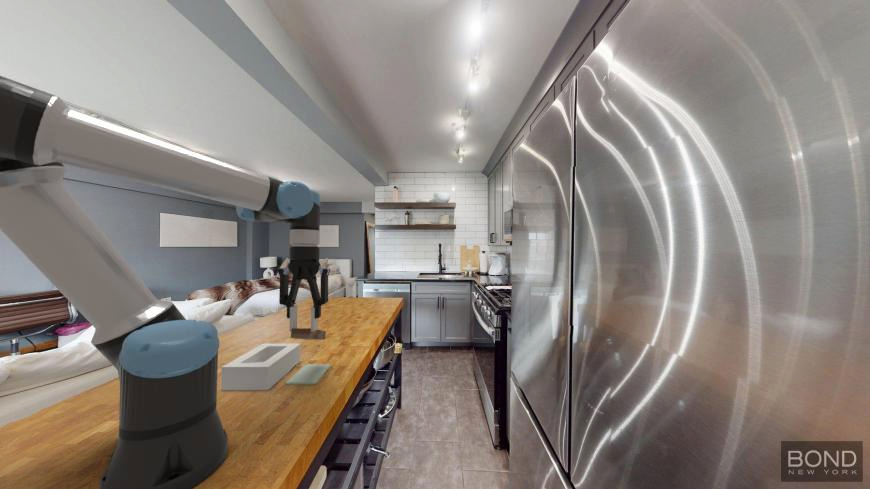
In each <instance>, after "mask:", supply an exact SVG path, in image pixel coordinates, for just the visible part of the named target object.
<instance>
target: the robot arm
mask: <svg viewBox="0 0 870 489" xmlns="http://www.w3.org/2000/svg"><path fill="white" fill-rule="evenodd" d="M65 165H68V166H71V167H77V168H79V169H84V170H88V171H92V172H96V173H97V172H98V173H102V174H105V175H108V176H114V177H116V178H117V177H118V178H122V179H125V180H129V181H134V182H137V183H141V184H146V185H150V186H155V187H158V188H161V189H166V190H171V191H175V192H179V193H182V194H183V193H184V194H187V195H189V196H190V195H191V196H195V197H200V198H204V199H207V200H212V201H216V202H220V203H224V204H227V205H228V204H229V205H233V206H235V210H236V215H237V216H238V218H239V219H241V220H243V221H244V220H245V221H252V222H265V223H283V224H289V245H291V246H290V247H289V263H288V265H287V266H286V267H285V266H284V267H281V268H278V269H277V273H278V275H279V294H278V295H279V297H278V298H279V299H278V300H279V302H278V304H279V305H281V306H282V305H283V306H285V307H286V318H287V319H289V332H291V331H292V328H298V305H296V304H297V303H296V300H297V296H298V293H299V289H300V286H301V282H302V280H305V281H306V282H307V284H308V287H309V290H310V295H311V300H312V303H313V305H312V306H311V307H310V328H311V331H315V330H316V329H317V330H319V329H318V322H319V320H318V319H319V318H321V316H322V306H323V305H325V304H327V303H328V302H329V275H330V272H331V268H330V267H327V268H326V267H324V266H322V265H321V263H320V249H321V248H320V247H319V246H318V245H320V239H321V238H320V236H321V235H320V232H321V231H320V227H321V226H320V224H321V222H320V221H321V219H320V218H321V199H320V198H321V197H320V193H319V192H318V191H316V190H313V189H310V188H309V186H307V185H306V184H305V183H303V182H301V181H297V180H296V181H295V180H292V181H291V180H288V181H282V180H279V179H277V178H273V177H271V176H270V177H269V176H267V175H264V174H260V173H258V172H256V171H252V170H249V169H246V168H243V167H240V166H237V165H234V164H232V163H230V162H229V163H228V162H227V161H226V162H225V161H224V160H220V159H217V158H215V157H211V156H208V155H205V154H203V153H201V152H200V153H199V152H197V151H194V150H191V149H188V148H186V147H183V146H179V145H176V144H174V143H171V142H168V141H166V140H162V139H159V138H156V137H153V136H150V135H147V134H144V133H142V132H139V131H136V130H132V129H130V128H126V127H124V126H121V125H118V124H116V123H113V122H109V121H107V120H104V119H101V118H98V117H95V116H92V115H90V114H86V113H83V112H80V111H78V110H76V109H75V110H74V109H73V108H71V107H69V106H68V105H67V104H66V102H64V100H63V99H62V98H61V97H60V96H57V95H55V94H52V93H49V92H46V91H44V90H41V89H38V88H35V87H32V86H31V85H27V84H24V83H21V82H19V81H15V80H13V79H9V78H7V77H5V76H3V75H2V76H1V75H0V230H1V232H2V233H3V234H4V235H5V236H6V237H7V238H8V239H9V241H11V242H12V243H13V244H14V245H15V246H16V247H17V248H18V249H19V250H20V251H21V252H22V254H23V255H24V256H25V257H26V258H27V259H28V260H29V261H30V262H31V263H32V264H33V265H34V266H35V267H36V269H38V270H39V271H40V272H41V273H42V275H43V276H45V278H46V279H48V281H49V282H50V283H51V284H52V285H53V286H54V287H55V288H56V290H58V291H59V292H60V293H61V294H62V295H63V296H64V298H66V299H67V300H68V302H69V303H70V304H71V305H72V306H73V307H74V308H75V309H76V310H77V311H78V312H79V313H80V315H82V316H83V317H84V319H86V321H88V322H89V324H91V326H92V327H93V328H94V329H95V331H94V333H93V336H92V337H91V338H92V339H91V342H90V343H91V344H92V345H93V347H94V348H95V349H97V351H98V352H100V354H101V355H103V357H104V358H106V360H108V362H109V363H110V364H111V365H112V366H113V367H114V368H115V369H116V370H117V374H118V379H119V418H118V420H119V421H118V422H119V424H118V439H117V442H116V445H115V448H114V449H113V452H112V455H110V459H109V461H108V465H107V468H106V470H105V471H104V473H103V475H102V477H101V479H100V482H99V485H98V489H193V488H194V487H196V486H197V485H198V484H200V483H201V482H203V481H204V480H206V479H207V478H208V477H209V476H210V475H212V474H213V473H214V472H215V471H216V470H217V469H218V468H219V467H220V465H222V463H224V460H225V458H227V454H228V450H229V449H228V447H229V446H228V445H229V444H228V443H229V442H228V441H229V440H228V439H229V438H228V433H227V432H226V430H225V429H224V427H223V424H222V422H221V418H220V415H219V413H218V410H217V409H218V408H217V402H218V401H217V398H218V397H217V396H218V365H219V364H218V360H219V348H220V339H219V332H218V329H217V327H216V326H215V325H214V324H212V323H210V322H209V321H205V320H196V319H186V318H185V316H184V315H183V314H182V313H181V311H180V310H179V308H178V307H176V305H175V304H174V303H173V301H172V300H163V299H158V298H156V296H155V295H154V294H153V292H152V291H151V290H150V289H149V288H148V287H147V285H146V284H145V283H144V282H143V281H142V279H141V278H140V277H139V275H138V274H137V273H136V272H135V270H133V268H132V266H130V264H129V263H128V262H127V261H126V260H125V259H124V257H123V256H122V255H121V253H120V252H119V251H118V250H117V249H116V247H115V246H114V245H113V244H112V242H111V241H110V240H109V239H108V238H107V236H106V235H105V234H104V233H103V231H102V230H101V229H100V227H98V225H97V224H96V223H95V221H93V220H94V219H92V218H91V217H90V215H89V214H88V213H87V212H86V210H85V209H84V208H83V207H82V205H81V204H80V203H79V202H78V201H77V200H76V198H75V197H74V196H73V195H72V193H71V192H70V191H69V190H68V188H67V187H66V186H65V185H64V183H63V179H64V177H65V174H66V173H67V171H68V169H67V168H66V166H65ZM318 273H319V275H320V290H319V286H318V285H319V284H318V282H317V281H318V279H317V274H318ZM290 274H292V278H291V285H290V288H289V283H290V282H289V280H290V279H289V278H290Z"/></svg>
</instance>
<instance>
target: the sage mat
mask: <svg viewBox="0 0 870 489" xmlns="http://www.w3.org/2000/svg"><path fill="white" fill-rule="evenodd" d="M330 366H331V367H332V364H331V363H329V364H328V363H326V364H323V363H321V364H317V363H311V364H310V363H309V364H308V363H306V364H304V365H303V366H302V367H301V368H300V369H299V370H298V371H296V373H294V374H293V375H292V376H291V377H290V378H289V379H288V380H287V381H286V382H285V385H286V386H287V385H288V386H289V385H292V386H293V385H300V386H301V385H303V386H304V385H306V386H307V385H317V383H318V382H320V380H321V379H322V378H323V376H324V375H325V374H326V373H327V371H328V370H330V368H331V367H330Z"/></svg>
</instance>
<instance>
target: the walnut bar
mask: <svg viewBox="0 0 870 489" xmlns="http://www.w3.org/2000/svg"><path fill="white" fill-rule="evenodd" d="M326 334H327V331H326V330H321V329H316V330H315V331H311V327H310V328H309V327H308V328H306V327H305V328H302V327H301V328H300V327H297V328H292V331H290V337H289V338H290V339H294V340H296V339H297V340H307V341H308V340H310V341H311V340H315V341H316V340H323V341H324V340H325V339H326V336H327V335H326Z"/></svg>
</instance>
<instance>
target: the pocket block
mask: <svg viewBox="0 0 870 489" xmlns="http://www.w3.org/2000/svg"><path fill="white" fill-rule="evenodd" d="M301 344H302V343H261V344H260V345H258V346H256V347H254V348H253V349H251V350H249V351H247V352H246V353H244V354H242V355H240V356H239V357H237V358H235V359H233V360H231V361H230V362H228V363H226V364H224V365H222V366H221V377H220V378H221V379H220V380H221V381H220V391H269V390H271V388H273V386H275V385H276V384H277V383H278V382H280V380H282V379H283V378H284V377H285V376H286V375H287V374H288V373H290V372H291V371H292V370H293V369H294V368H295V367H296V366H297V365H296V364H298V363H299V362H300V363H301V352H302V351H301V350H302V349H301V346H302V345H301ZM300 363H299V364H300ZM299 364H298V365H299ZM295 365H296V366H295ZM294 366H295V367H294ZM293 367H294V368H293ZM292 368H293V369H292ZM291 369H292V370H291ZM290 370H291V371H290ZM289 371H290V372H289Z"/></svg>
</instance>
